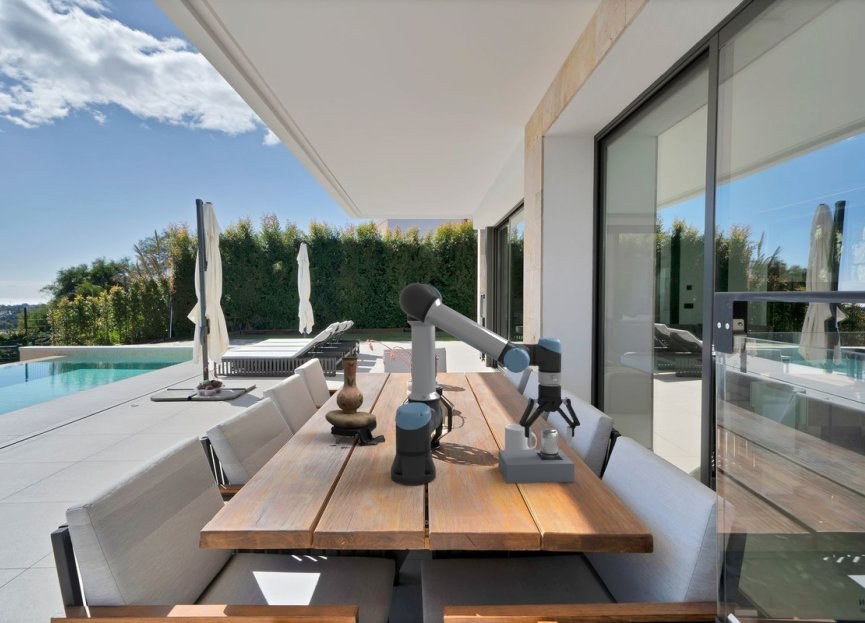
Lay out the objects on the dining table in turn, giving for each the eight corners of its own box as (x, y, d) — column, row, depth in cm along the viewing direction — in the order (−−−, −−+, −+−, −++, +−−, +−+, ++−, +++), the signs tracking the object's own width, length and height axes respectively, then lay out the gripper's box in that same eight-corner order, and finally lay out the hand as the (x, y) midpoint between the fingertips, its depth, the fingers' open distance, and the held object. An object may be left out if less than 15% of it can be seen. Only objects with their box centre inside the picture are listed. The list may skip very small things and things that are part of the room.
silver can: (543, 471, 147) (543, 432, 146) (538, 465, 153) (538, 427, 152) (560, 471, 147) (561, 432, 147) (555, 464, 153) (555, 427, 153)
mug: (538, 459, 164) (538, 430, 163) (505, 458, 165) (505, 429, 165) (535, 451, 172) (535, 424, 172) (504, 450, 173) (504, 423, 173)
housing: (506, 483, 142) (506, 464, 142) (498, 467, 156) (498, 450, 156) (574, 481, 143) (574, 463, 143) (559, 466, 157) (559, 449, 157)
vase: (376, 429, 203) (376, 353, 202) (387, 444, 182) (387, 359, 181) (323, 434, 195) (323, 355, 195) (328, 450, 174) (328, 361, 174)
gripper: (515, 386, 145) (515, 450, 145) (590, 385, 146) (590, 449, 146) (510, 382, 152) (510, 443, 153) (581, 381, 153) (581, 442, 154)
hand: (549, 446), depth 150 cm, fingers open, 13 cm apart
